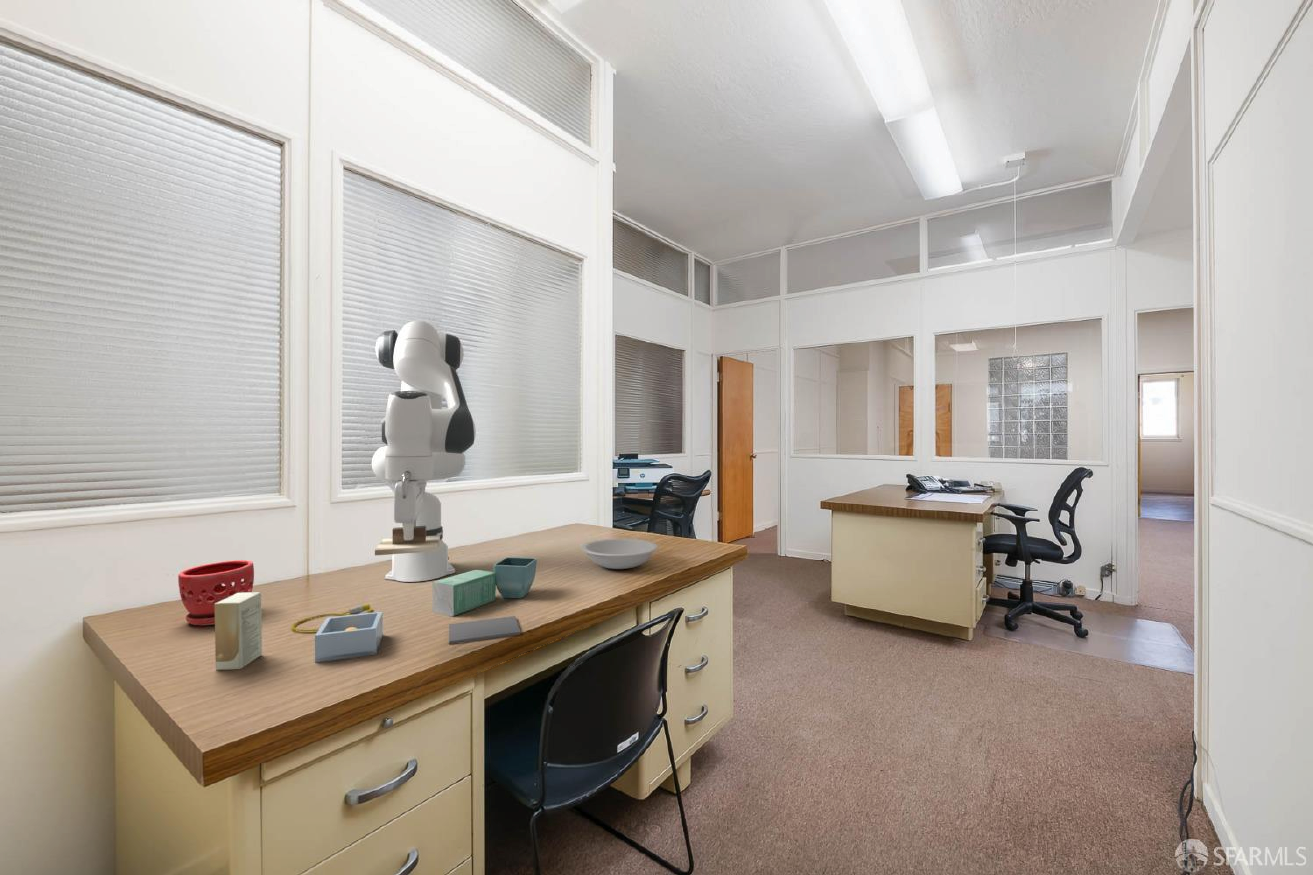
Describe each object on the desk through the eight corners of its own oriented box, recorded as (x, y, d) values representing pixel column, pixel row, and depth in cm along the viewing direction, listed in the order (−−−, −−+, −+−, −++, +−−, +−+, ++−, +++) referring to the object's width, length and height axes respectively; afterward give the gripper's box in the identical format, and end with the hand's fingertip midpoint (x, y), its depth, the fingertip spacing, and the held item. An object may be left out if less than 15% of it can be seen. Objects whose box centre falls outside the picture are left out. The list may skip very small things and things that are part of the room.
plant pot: (235, 605, 127) (235, 557, 127) (266, 614, 121) (265, 563, 121) (166, 623, 115) (166, 569, 115) (197, 634, 109) (196, 577, 109)
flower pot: (537, 591, 139) (537, 557, 139) (526, 601, 131) (526, 566, 131) (506, 590, 140) (506, 556, 140) (492, 600, 132) (492, 565, 131)
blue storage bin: (327, 642, 105) (327, 617, 105) (382, 635, 109) (382, 611, 109) (314, 662, 96) (314, 635, 96) (376, 654, 100) (375, 628, 100)
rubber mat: (449, 626, 114) (449, 624, 114) (515, 618, 119) (515, 615, 119) (449, 644, 104) (449, 641, 104) (520, 634, 110) (520, 631, 110)
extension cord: (373, 627, 115) (373, 618, 115) (286, 639, 108) (286, 630, 108) (375, 610, 126) (375, 601, 126) (297, 620, 119) (297, 611, 119)
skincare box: (239, 655, 99) (238, 591, 99) (263, 654, 99) (262, 591, 99) (213, 671, 93) (212, 602, 92) (239, 670, 93) (238, 602, 93)
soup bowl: (628, 582, 148) (628, 558, 148) (565, 569, 161) (565, 548, 161) (672, 564, 168) (672, 543, 168) (613, 554, 181) (613, 535, 181)
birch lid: (383, 543, 109) (383, 524, 109) (440, 539, 113) (439, 521, 113) (374, 555, 99) (374, 534, 99) (437, 551, 103) (437, 530, 103)
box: (497, 600, 132) (496, 571, 132) (454, 617, 120) (453, 585, 120) (475, 596, 135) (475, 567, 135) (432, 612, 123) (431, 581, 123)
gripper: (422, 473, 97) (422, 547, 98) (429, 466, 117) (429, 528, 117) (384, 474, 95) (385, 550, 95) (398, 467, 114) (398, 529, 115)
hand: (409, 537), depth 106 cm, fingers closed on birch lid, 2 cm apart
